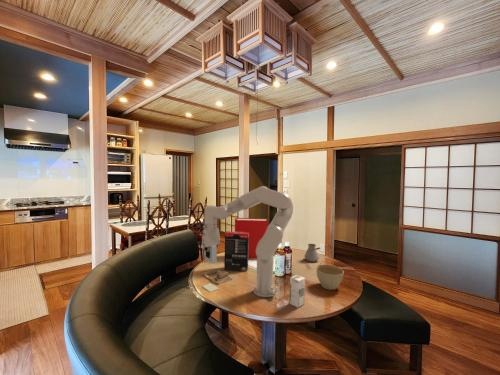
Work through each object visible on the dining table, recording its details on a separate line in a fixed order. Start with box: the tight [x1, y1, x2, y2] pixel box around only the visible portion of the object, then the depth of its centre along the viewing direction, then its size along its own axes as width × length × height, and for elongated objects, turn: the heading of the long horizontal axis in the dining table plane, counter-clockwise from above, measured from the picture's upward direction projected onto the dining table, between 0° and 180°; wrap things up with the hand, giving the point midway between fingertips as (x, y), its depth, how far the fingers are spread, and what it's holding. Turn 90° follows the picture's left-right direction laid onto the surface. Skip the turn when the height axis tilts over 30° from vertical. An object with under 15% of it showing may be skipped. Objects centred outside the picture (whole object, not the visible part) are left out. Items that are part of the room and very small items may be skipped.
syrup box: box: [288, 274, 306, 308], centre depth 122 cm, size 6×6×14 cm
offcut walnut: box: [216, 270, 229, 279], centre depth 150 cm, size 4×6×2 cm, turn 138°
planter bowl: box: [315, 264, 345, 291], centre depth 143 cm, size 16×16×11 cm
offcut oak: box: [214, 275, 230, 282], centre depth 150 cm, size 4×8×2 cm, turn 132°
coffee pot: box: [304, 243, 321, 263], centre depth 184 cm, size 21×12×15 cm, turn 8°
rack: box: [202, 268, 233, 285], centre depth 153 cm, size 18×11×2 cm, turn 42°
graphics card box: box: [223, 230, 249, 272], centre depth 167 cm, size 17×7×27 cm, turn 85°
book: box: [234, 217, 269, 259], centre depth 194 cm, size 27×8×32 cm, turn 88°
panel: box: [204, 245, 218, 265], centre depth 138 cm, size 8×3×10 cm, turn 42°
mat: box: [201, 282, 219, 293], centre depth 139 cm, size 9×6×1 cm, turn 42°
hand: (210, 256), depth 138 cm, fingers closed on panel, 3 cm apart
